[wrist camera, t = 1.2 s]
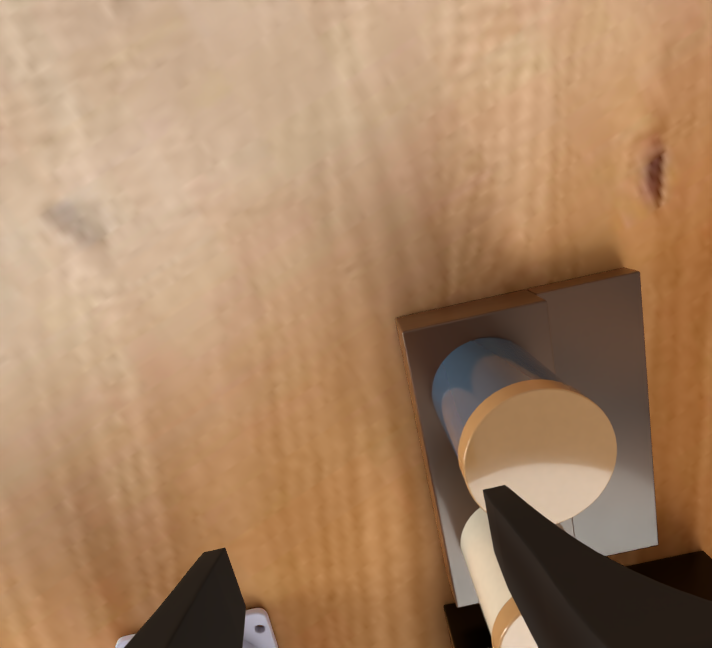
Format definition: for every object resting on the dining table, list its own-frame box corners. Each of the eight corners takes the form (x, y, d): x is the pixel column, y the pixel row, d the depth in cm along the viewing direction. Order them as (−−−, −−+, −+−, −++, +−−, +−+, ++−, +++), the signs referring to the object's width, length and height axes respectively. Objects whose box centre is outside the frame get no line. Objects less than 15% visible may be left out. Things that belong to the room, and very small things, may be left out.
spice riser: (644, 529, 26) (674, 562, 24) (446, 572, 26) (456, 609, 24) (624, 267, 23) (658, 275, 20) (394, 317, 23) (401, 332, 20)
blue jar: (548, 428, 22) (623, 511, 16) (439, 451, 22) (476, 542, 16) (535, 323, 20) (611, 372, 15) (419, 348, 21) (451, 407, 15)
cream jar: (567, 570, 24) (639, 688, 18) (466, 591, 24) (507, 716, 18) (555, 482, 22) (629, 579, 17) (449, 504, 22) (488, 609, 17)
